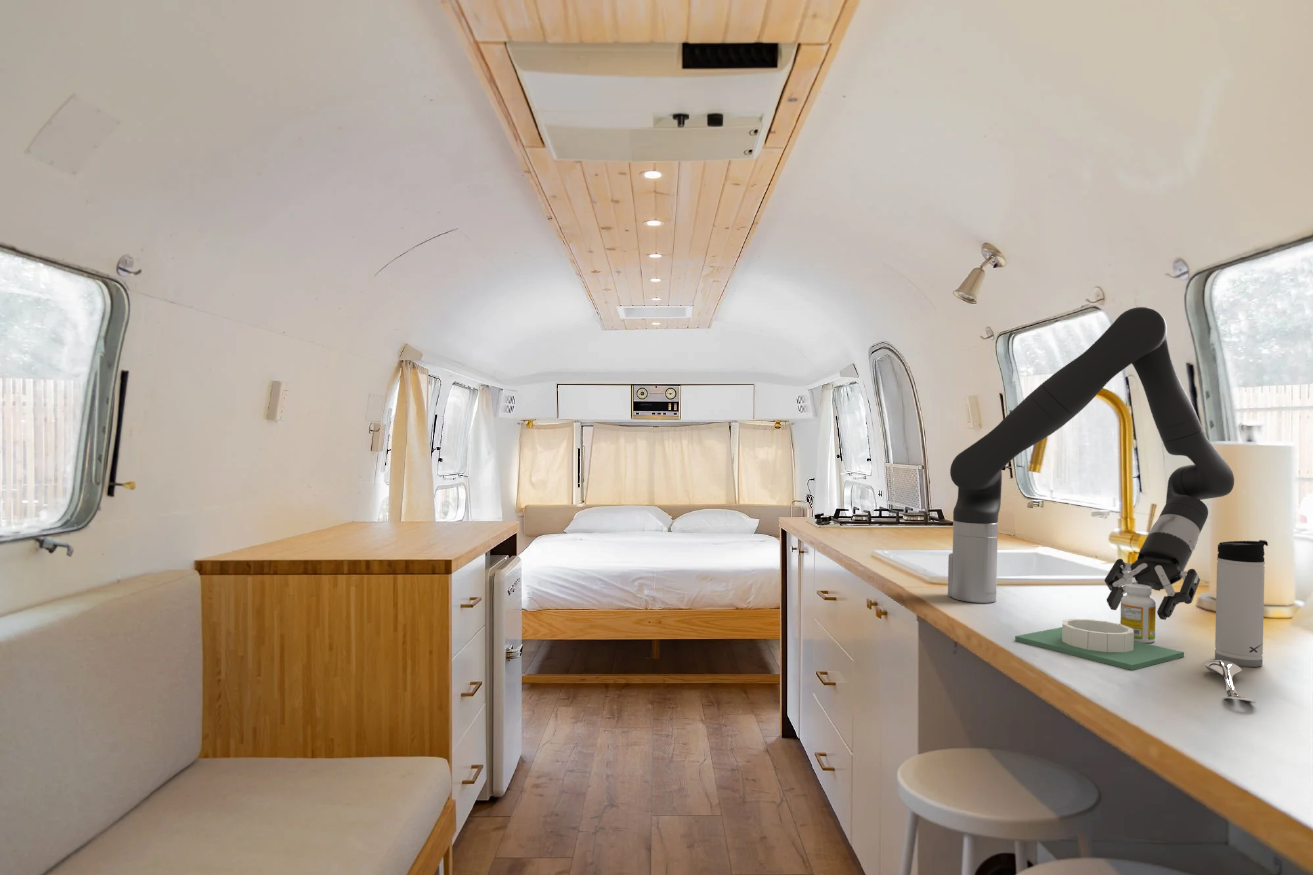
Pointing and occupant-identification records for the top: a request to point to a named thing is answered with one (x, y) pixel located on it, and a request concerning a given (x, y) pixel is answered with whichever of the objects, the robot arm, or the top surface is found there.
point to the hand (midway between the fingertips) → (1135, 611)
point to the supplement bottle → (1139, 612)
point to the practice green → (1100, 643)
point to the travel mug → (1240, 602)
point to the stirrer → (1227, 676)
